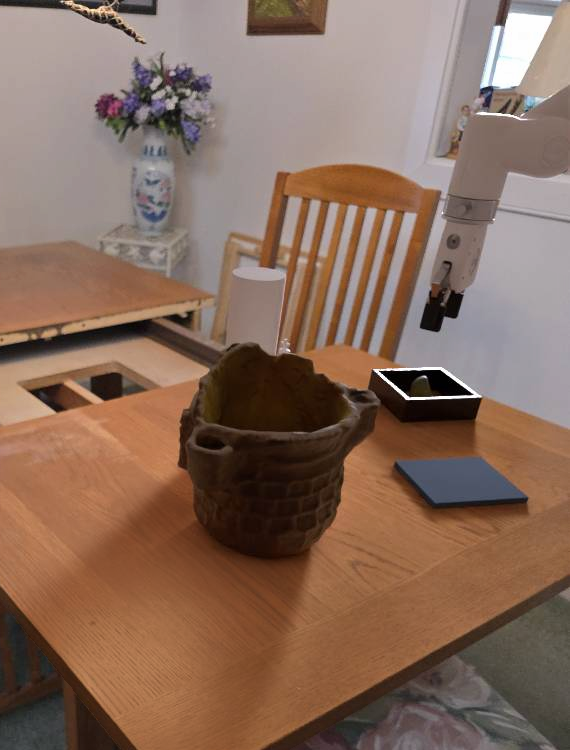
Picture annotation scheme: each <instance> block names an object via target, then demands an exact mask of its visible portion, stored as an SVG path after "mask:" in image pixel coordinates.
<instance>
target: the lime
mask: <svg viewBox="0 0 570 750" xmlns="http://www.w3.org/2000/svg"><path fill="white" fill-rule="evenodd" d="M423 397H433V394H432V390H430V386H429V384H428V379H427V377H426V376H421V377H419V378H417V379H416V380H415V381H414V382H413V384H412V386H411V388H410V391H409V398H423Z"/></svg>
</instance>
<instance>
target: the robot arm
mask: <svg viewBox="0 0 570 750" xmlns="http://www.w3.org/2000/svg"><path fill="white" fill-rule="evenodd" d="M568 169H570V83H569V84H567V85H566V86H564V87H563V88H560V89H559V90H557V91H556V92H555V93H553V94H552V95H550V96H548V97H547V98H545V99H544V100H542V101H541V102H539V103H538V104H536V105H535V106H533V107H532V108H530V109H529V110H527V111H526V112H524V113H522V114H521V115H520V116H519V117H517V116H514V115H511V114H505V113H504V114H502V113H493V112H492V113H490V112H477V113H473V114H472V115H471V116H469V117H468V118H467V120H466V122H465V124H464V128H463V130H462V135H461V138H460V143H459V147H458V150H457V153H456V158H455V162H454V165H453V169H452V173H451V178H450V180H449V181H450V182H449V185H448V189H447V193H446V197H445V201H444V205H443V209H442V211H441V218H442V219H443V220H446V221H445V224H444V227H443V231H442V233H441V237H440V241H439V244H438V248H437V250H436V254H435V258H434V261H433V265H432V268H431V273H430V278H429V282H428V283H429V286H430V290H429V291H428V295H427V297H426V300H425V304H424V308H423V312H422V315H421V319H420V322H419V329H421V330H424V331H427V332H428V331H429V332H432V333H439V332H440V331H441V330H442V327H443V323H444V318H448V319H453V320H455V319H457V318H458V317H459V312H460V310H461V307H462V303H463V299H464V297H465V294H464V293H465V292H466V289H468V288H469V287H470V286H472V285H473V284H474V283H475V280H476V277H477V273H478V269H479V266H480V265H479V264H480V261H481V257H482V253H483V249H484V245H485V241H486V236H487V231H488V226H489V225H490V226H491V225H493V224H494V222H495V219H496V215H497V211H498V209H499V205H500V201H501V198H502V195H503V191H504V187H505V184H506V182H507V177H508V175H509V173H512V174H518V175H522V176H527V177H531V178H535V179H550V178H553V177H557V176H558V175H560V174H563V173H564V172H566V171H567V170H568Z"/></svg>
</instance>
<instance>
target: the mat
mask: <svg viewBox="0 0 570 750" xmlns="http://www.w3.org/2000/svg"><path fill="white" fill-rule="evenodd" d="M393 467H394V468H395V469H396V470H397V471H398V472H399V473H400V474H401V475H402V477H404V478H405V480H407V482H409V484H410V485H411V486H412V487H413V488H414V489H415V490H416V492H418V494H419V495H420V496H422V497H423V499H424V500H425V501H426V502H427V503H428V504H429V505H430V506H431V507H432V508H433V509H443V508H459V507H460V508H461V507H473V506H474V507H475V506H477V507H478V506H493V505H506V504H522V503H528V501H529V498H530V497H529V496H528V495H527V494H525V493H524V492H523V491H522V490H521V489H520V488H518V487H517V486H516V485H515V484H514V483H512V481H510V480H509V479H508V478H506V477H505V476H504V475H503V474H502V473H501V472H499V470H497V469H496V468H495V467H494V466H492V464H490V463H489V461H487V460H486V459H484V458H483V457H482V456H467V457H451V458H430V459H411V460H395V461H394V464H393Z"/></svg>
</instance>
